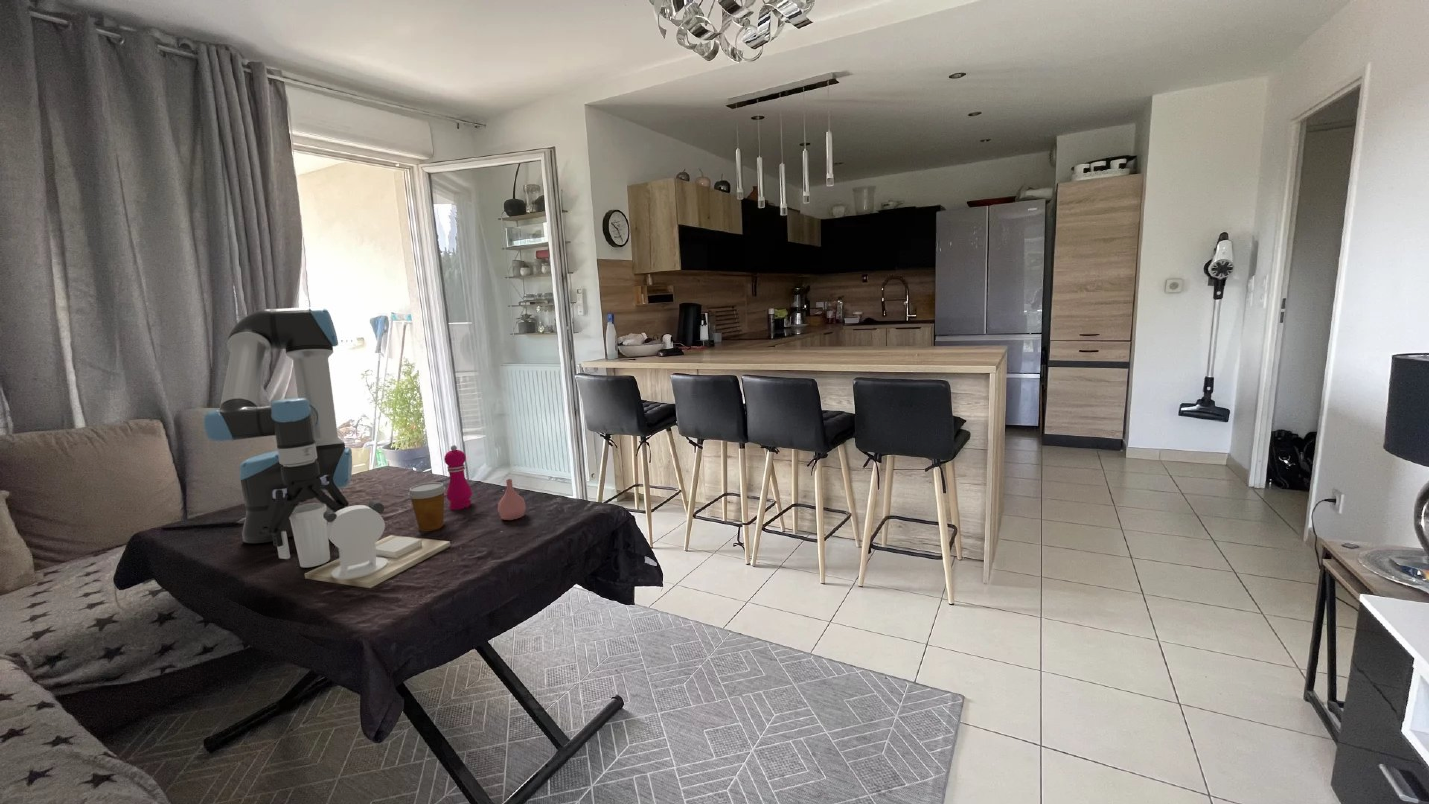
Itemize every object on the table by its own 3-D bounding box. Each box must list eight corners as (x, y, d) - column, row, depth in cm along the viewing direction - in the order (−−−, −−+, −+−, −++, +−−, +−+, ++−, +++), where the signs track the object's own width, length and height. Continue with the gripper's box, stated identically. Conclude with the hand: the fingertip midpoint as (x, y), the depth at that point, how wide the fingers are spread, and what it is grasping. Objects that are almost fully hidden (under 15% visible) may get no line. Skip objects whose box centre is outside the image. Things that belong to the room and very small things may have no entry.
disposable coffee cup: (456, 521, 172) (451, 481, 170) (437, 533, 162) (432, 491, 161) (425, 521, 173) (420, 481, 171) (405, 533, 163) (399, 492, 162)
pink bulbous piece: (532, 518, 171) (528, 478, 169) (508, 526, 165) (503, 485, 163) (517, 513, 176) (514, 474, 174) (494, 521, 170) (489, 481, 169)
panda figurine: (382, 553, 147) (374, 495, 145) (397, 565, 139) (388, 504, 137) (326, 569, 139) (316, 508, 136) (338, 584, 131) (328, 519, 128)
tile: (370, 548, 146) (395, 551, 143) (397, 536, 153) (421, 539, 151) (371, 555, 146) (396, 558, 143) (398, 543, 153) (422, 545, 151)
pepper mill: (443, 511, 181) (435, 448, 178) (457, 503, 188) (449, 442, 185) (464, 511, 180) (457, 448, 177) (477, 504, 187) (471, 442, 184)
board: (305, 578, 137) (304, 573, 137) (391, 539, 160) (390, 535, 159) (370, 588, 131) (369, 583, 131) (450, 545, 153) (449, 541, 153)
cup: (291, 573, 141) (282, 516, 138) (300, 560, 148) (291, 506, 146) (331, 566, 144) (322, 510, 141) (337, 554, 151) (329, 500, 149)
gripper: (255, 477, 129) (271, 569, 132) (357, 451, 152) (368, 529, 155) (232, 476, 131) (248, 566, 134) (335, 450, 155) (347, 527, 158)
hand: (312, 547), depth 145 cm, fingers open, 13 cm apart
